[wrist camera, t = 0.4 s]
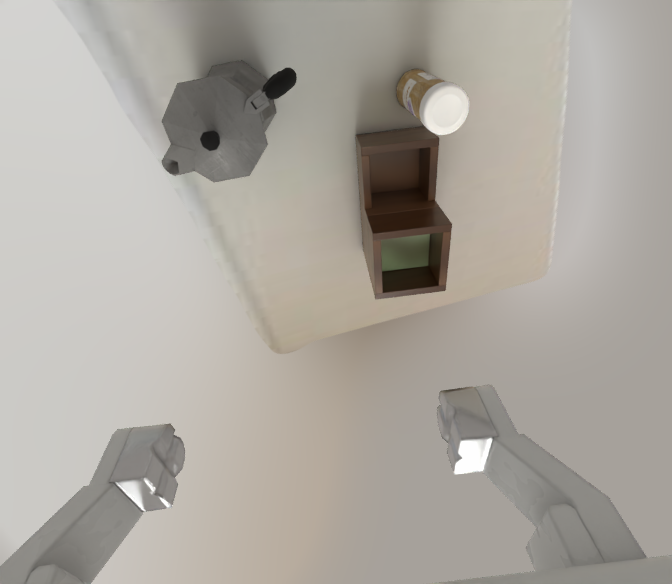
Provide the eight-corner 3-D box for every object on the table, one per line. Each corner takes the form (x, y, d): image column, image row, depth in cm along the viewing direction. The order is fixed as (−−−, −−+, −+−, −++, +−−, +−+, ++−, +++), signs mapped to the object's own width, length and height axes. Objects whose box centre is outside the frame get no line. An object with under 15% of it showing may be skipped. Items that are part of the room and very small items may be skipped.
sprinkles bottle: (388, 88, 46) (414, 109, 35) (418, 59, 44) (455, 72, 33) (409, 117, 48) (439, 146, 37) (438, 91, 46) (479, 113, 36)
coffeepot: (224, 163, 50) (192, 223, 35) (171, 98, 45) (109, 136, 30) (318, 96, 46) (325, 132, 31) (272, 16, 41) (255, 15, 26)
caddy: (355, 135, 49) (369, 166, 38) (425, 125, 49) (458, 155, 38) (363, 250, 60) (375, 299, 49) (420, 243, 60) (445, 290, 49)
